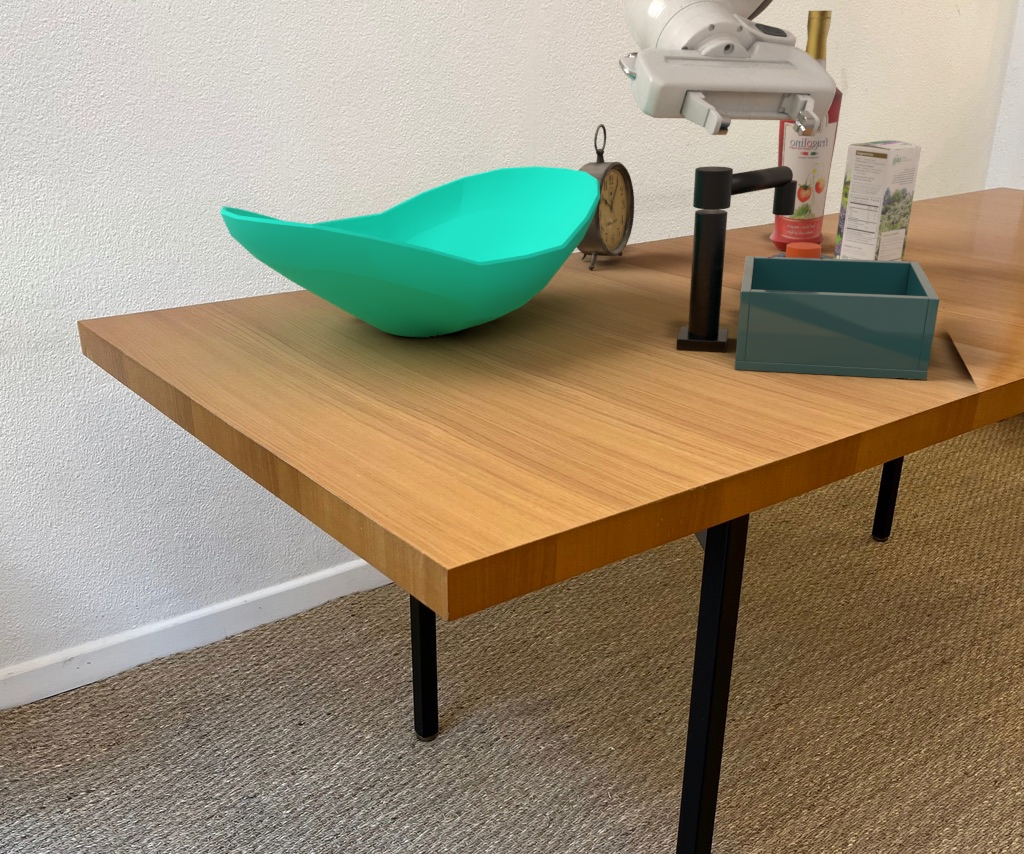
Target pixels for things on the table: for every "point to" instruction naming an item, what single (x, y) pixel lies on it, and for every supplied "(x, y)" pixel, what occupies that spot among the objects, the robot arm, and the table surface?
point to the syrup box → (877, 200)
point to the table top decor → (434, 249)
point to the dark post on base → (706, 285)
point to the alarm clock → (609, 208)
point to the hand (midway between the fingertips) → (767, 128)
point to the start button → (803, 250)
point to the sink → (836, 317)
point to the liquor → (808, 155)
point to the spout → (743, 187)
